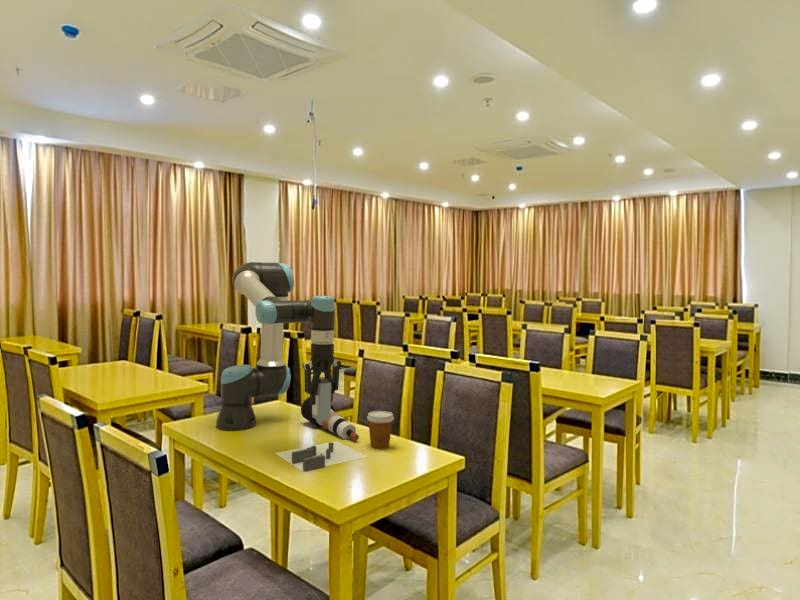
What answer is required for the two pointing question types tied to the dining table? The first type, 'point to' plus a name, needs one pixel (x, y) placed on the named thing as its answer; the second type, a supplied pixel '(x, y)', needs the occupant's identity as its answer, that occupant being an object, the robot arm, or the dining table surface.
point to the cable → (330, 422)
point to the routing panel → (320, 455)
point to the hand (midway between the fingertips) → (321, 413)
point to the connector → (323, 399)
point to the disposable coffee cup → (380, 428)
